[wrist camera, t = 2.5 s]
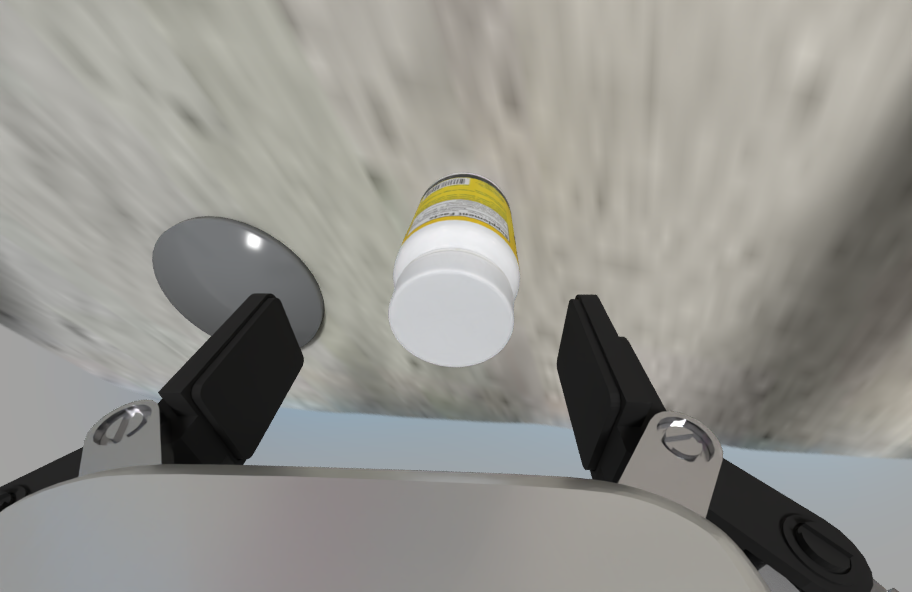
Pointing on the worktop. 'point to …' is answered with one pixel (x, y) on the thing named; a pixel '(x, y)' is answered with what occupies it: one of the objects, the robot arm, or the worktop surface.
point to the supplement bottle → (456, 274)
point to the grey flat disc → (233, 274)
